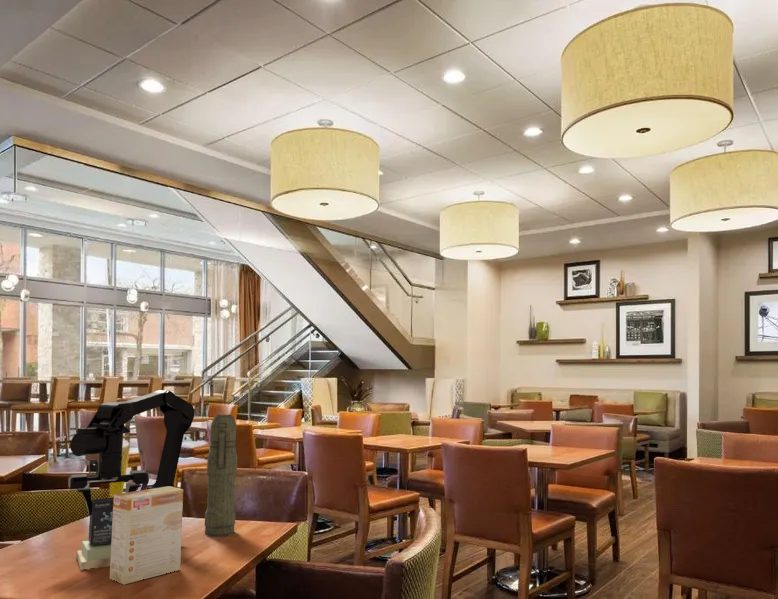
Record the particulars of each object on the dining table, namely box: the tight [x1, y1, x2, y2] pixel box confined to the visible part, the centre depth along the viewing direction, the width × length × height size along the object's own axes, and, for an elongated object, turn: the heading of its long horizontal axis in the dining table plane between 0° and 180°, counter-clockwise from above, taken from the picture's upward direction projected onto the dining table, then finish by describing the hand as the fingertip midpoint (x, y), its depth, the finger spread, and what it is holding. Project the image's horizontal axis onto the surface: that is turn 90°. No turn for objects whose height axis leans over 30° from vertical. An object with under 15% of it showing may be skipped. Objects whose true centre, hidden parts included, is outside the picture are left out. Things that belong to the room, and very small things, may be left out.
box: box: [88, 496, 114, 545], centre depth 171 cm, size 8×6×11 cm
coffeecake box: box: [109, 486, 184, 586], centre depth 160 cm, size 15×7×20 cm, turn 141°
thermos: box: [204, 414, 238, 537], centre depth 201 cm, size 9×12×35 cm
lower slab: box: [75, 549, 111, 571], centre depth 170 cm, size 12×12×2 cm
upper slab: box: [81, 540, 111, 561], centre depth 170 cm, size 10×10×2 cm
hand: (107, 513), depth 171 cm, fingers closed on box, 8 cm apart
